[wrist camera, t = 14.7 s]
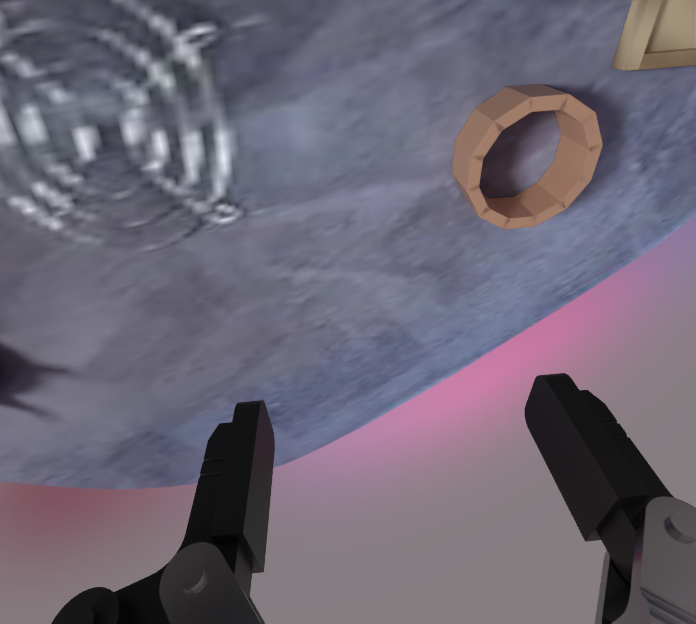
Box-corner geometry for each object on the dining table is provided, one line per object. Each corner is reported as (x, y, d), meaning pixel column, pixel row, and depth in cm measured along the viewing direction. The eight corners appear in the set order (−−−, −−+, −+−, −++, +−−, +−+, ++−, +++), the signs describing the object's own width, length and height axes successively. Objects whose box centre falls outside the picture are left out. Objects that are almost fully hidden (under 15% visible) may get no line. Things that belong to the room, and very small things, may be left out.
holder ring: (460, 90, 32) (478, 101, 28) (587, 80, 32) (621, 89, 28) (447, 211, 38) (461, 232, 35) (553, 202, 38) (577, 222, 35)
